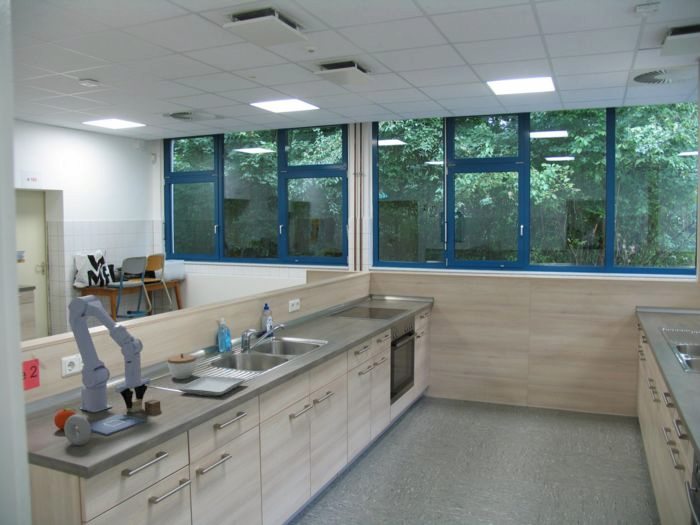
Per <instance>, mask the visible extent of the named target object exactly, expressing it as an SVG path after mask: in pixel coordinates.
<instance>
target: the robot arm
mask: <svg viewBox="0 0 700 525" xmlns="http://www.w3.org/2000/svg"><path fill="white" fill-rule="evenodd" d="M67 307H68V311H69V315H68V316H69V318H68V322H69V326H70V328H71V330H72V331H71V332H72V334H73V336H74V339H75V340H74V341H75V343H76V345H77V350H78V351H79V354H80V357H81V359H82V363H83V365H82V368H81V369H80V372H81V375H82V377H81V382H82V384H83V388H82V389H81V391H80V392H81V393H80V394H81V396H80V397H81V399H80V400H81V407H79V410H82V409H83V411H86V410H87V412H92V413H98V412H101V411H104V410H106V409H110V408H113V405H110V404H108V387H107V384H108V380H109V379H110V377H111V376H110V374H111V373H110V370H109V369H108V367H106V365H105V363H104V361H102V360H101V359H99V357H98V354H97V350H96V347H95V344H94V342H93V339H92V336H91V334H90V330H89V327H88V324H87V320H88V318H89V317H95V318H96V319H97V320H98V321H99V322H100V323H101V324H102V325H103V326H104V327H105V328H106V329H107V330H108V331H109V332H108V334H109V337H111V339H112V340H113V341H114V342H115V343H116V344H117V345H118V346H119V347H120V352H121V354H122V355H123V360H124V380H125V382H124V383H122V384H119V385H118V386H115V392H116V393H119V394H120V395H121V396H122V398H123V400H124V403H125V406H126V407H127V408H132V399H133V395H134V394H135V398H138V399H142V401H143V399H144V396H145V393H146V391H147V390H148V386H147V385H149V384H151V378H150V377H149V378H148V377H146V378H142V369H141V368H142V367H141V366H142V365H141V363H142V362H141V352H143V349H144V346H143V343H142V341H141V339H138V338H136V337H134V336H133V335H132V334H131V333H130V332H128V330H127V327H126V326H123V325H122V324H117V323H116V321H115V320H114V319H113V318H112V317H111V315H110V314H109V313H108V312H107V311H106V309H105V308H104V307H103V305H102V302H101V301H100V300H99V299H98V298H97V296H95V295H94V294H89V295H85V296H80V297H74V298H72V299H71V300H70V302H69V304H68V306H67ZM131 389H134V391H133V390H131Z"/></svg>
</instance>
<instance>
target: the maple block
mask: <svg viewBox="0 0 700 525" xmlns="http://www.w3.org/2000/svg"><path fill="white" fill-rule="evenodd" d="M125 409H126V410H128V411H127V412H130V411H131V412H130V413H135V411H136V412H138V411H137V410H139V411H141V410H140V409H142V410H143V400H142V399H138V398H136V397H132V408H127V407H126V408H125Z"/></svg>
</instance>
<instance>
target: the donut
mask: <svg viewBox="0 0 700 525" xmlns="http://www.w3.org/2000/svg"><path fill="white" fill-rule="evenodd" d="M90 424H91V423H90V422H89V421H88V420H87V418H86V417H84V416H83V415H81V414H79V413H78V414H76V415H72V416H70V417H69V418H68V419H67V420H66V422H65V427H64V430H63V431H64V435H65V437H66V439H67V441H69V442H70V443H71V444H72V445H74V446H82V445H85V444H86V443H87V442H88V441H89V439H90V438H91V433H92V431H91V428H90ZM76 427H77V428H76ZM77 429H78V431H79V432H77Z"/></svg>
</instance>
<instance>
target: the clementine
mask: <svg viewBox="0 0 700 525" xmlns="http://www.w3.org/2000/svg"><path fill="white" fill-rule="evenodd" d="M72 415H77V414H76V410H75V409H74V408H72V409H71V408H70V407H69V408H64V409H61V410H60V411H57V413H56V414H55V416H54V425H55V426H56V428H58V429H60V430H63V431H64V427H65V422H66V420H67V419H68V418H69V417H70V416H72Z"/></svg>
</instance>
